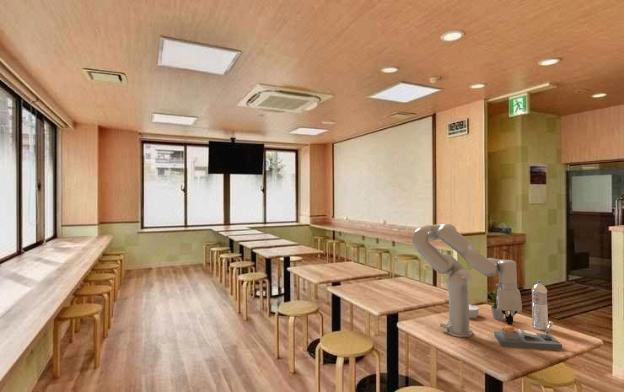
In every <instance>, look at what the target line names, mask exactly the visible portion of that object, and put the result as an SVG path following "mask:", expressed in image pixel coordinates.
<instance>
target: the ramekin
mask: <svg viewBox="0 0 624 392" xmlns="http://www.w3.org/2000/svg"><path fill="white" fill-rule="evenodd" d="M479 311H480V308H479V307H478V306H477V305H474V304H471V303H469V319H476V318H477V317H478V315H479Z"/></svg>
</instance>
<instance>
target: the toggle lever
mask: <svg viewBox="0 0 624 392" xmlns="http://www.w3.org/2000/svg"><path fill="white" fill-rule="evenodd" d="M553 325H554V322H553V321H552V320H550V321H548V327H547V330H545V332H544V333H543V334H544V335H545V336H548V334H550V330H551V328H552V326H553Z"/></svg>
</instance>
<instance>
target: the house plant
mask: <svg viewBox="0 0 624 392" xmlns="http://www.w3.org/2000/svg"><path fill="white" fill-rule="evenodd" d="M488 295H489V297H490V298H491V299H492V300H491V299H490V298H489V299H488V298H486V299H485V300H486V301H490V302H491V306H490V309H491V314H492V318H493V319H494V320H496V321H503V320H504V319H505V314H503V313H502V312H498V311H497V304H496V300H497V290H494V289H493V292H492V293H490V292H488Z"/></svg>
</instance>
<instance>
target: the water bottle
mask: <svg viewBox="0 0 624 392" xmlns="http://www.w3.org/2000/svg"><path fill="white" fill-rule="evenodd" d="M531 300H532V301H531V315H532V316H531V318H532V321H531V322H532V324H531V325H532V328H534V330H538V331H546V330H547V327H548V325H549V324H548V322H549V321H548V319H549V317H548V312H549V311H548V289H547V288H546V286H545V285H544V284H542V280H536V283H535V284H534V285H533V286H532V287H531Z"/></svg>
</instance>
